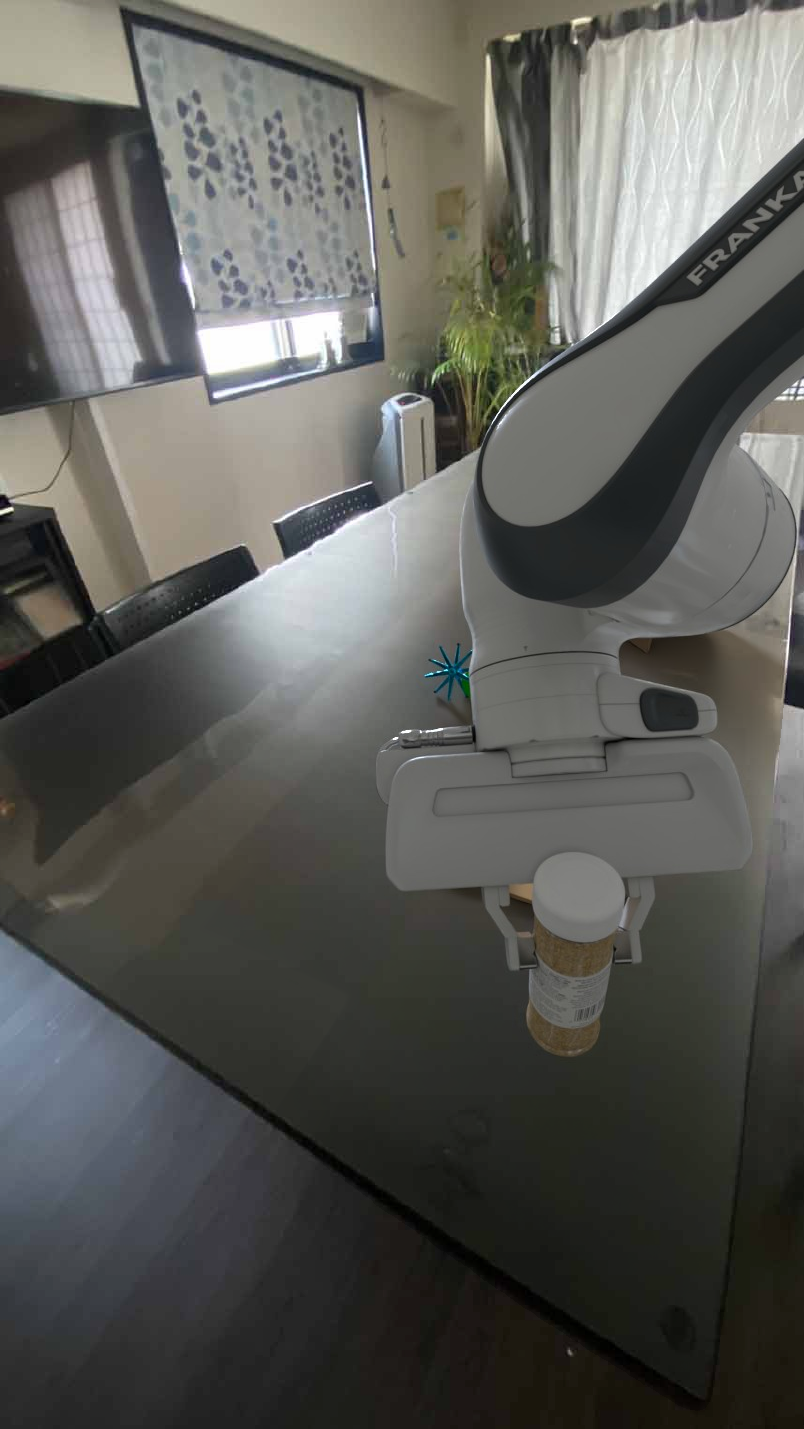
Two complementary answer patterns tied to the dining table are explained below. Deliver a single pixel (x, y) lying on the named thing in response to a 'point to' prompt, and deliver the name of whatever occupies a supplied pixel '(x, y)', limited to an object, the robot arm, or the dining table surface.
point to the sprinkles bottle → (572, 949)
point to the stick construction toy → (453, 673)
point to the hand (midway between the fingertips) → (573, 965)
